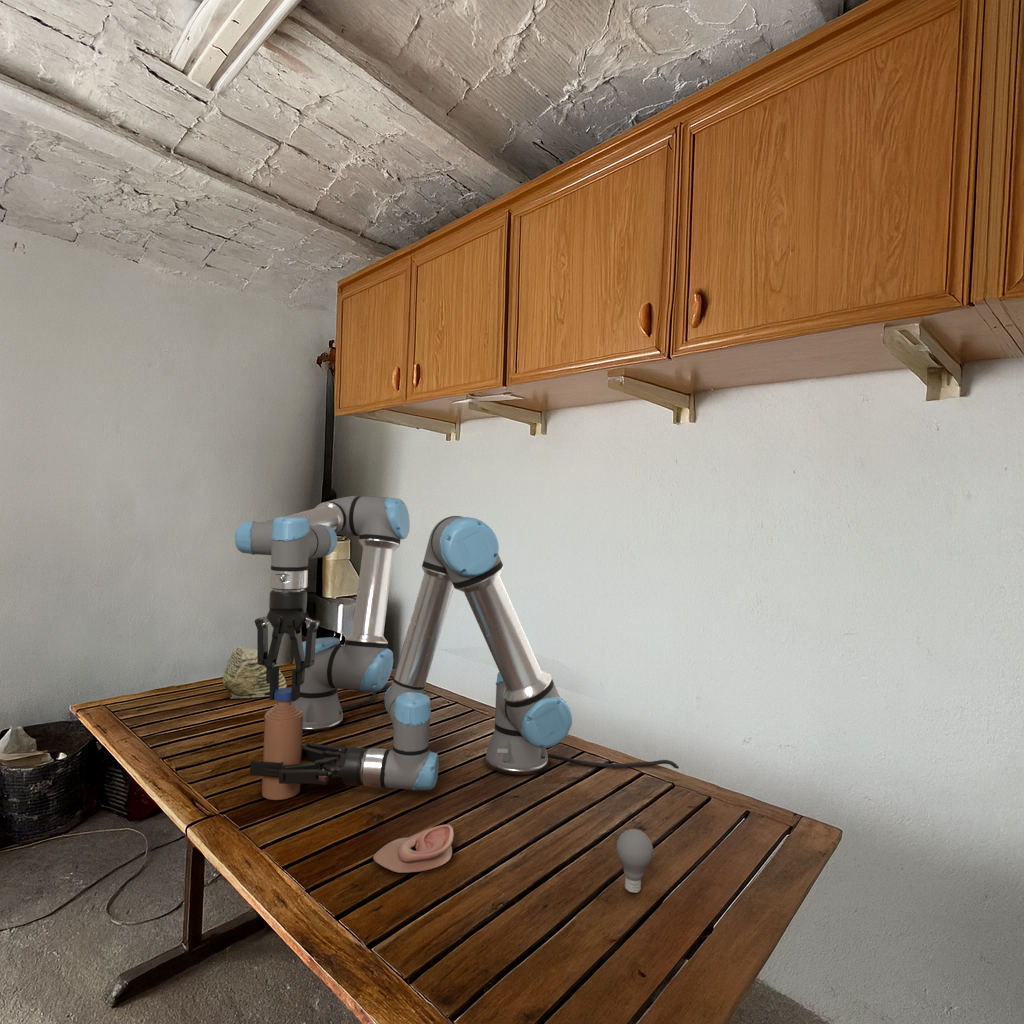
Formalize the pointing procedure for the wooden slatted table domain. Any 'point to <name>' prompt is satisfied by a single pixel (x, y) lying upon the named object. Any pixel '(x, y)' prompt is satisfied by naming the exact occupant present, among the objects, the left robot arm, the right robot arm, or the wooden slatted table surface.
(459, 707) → the wooden slatted table surface
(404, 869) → the anatomical model
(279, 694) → the cap
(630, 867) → the light bulb
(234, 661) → the fossil
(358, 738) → the wooden slatted table surface
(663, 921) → the wooden slatted table surface
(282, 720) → the bottle
